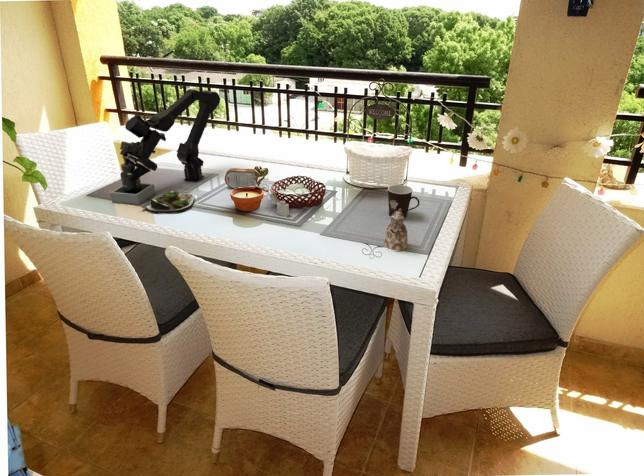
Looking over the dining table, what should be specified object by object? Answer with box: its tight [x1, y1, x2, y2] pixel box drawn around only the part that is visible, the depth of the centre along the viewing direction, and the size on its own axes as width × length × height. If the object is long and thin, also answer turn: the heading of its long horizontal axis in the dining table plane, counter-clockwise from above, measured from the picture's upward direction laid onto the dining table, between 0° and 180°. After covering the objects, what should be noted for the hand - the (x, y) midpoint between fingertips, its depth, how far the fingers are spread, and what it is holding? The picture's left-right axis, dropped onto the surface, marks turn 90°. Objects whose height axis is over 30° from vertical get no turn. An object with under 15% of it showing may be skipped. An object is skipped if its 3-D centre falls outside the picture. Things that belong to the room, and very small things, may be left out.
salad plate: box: [141, 189, 196, 215], centre depth 172 cm, size 19×18×5 cm
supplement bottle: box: [119, 162, 142, 194], centre depth 174 cm, size 7×7×12 cm
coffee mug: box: [387, 184, 421, 219], centre depth 159 cm, size 12×9×10 cm
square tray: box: [109, 182, 156, 206], centre depth 177 cm, size 12×12×4 cm
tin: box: [224, 167, 263, 190], centre depth 184 cm, size 15×3×8 cm, turn 84°
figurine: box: [383, 209, 409, 251], centre depth 140 cm, size 7×7×12 cm
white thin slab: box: [268, 191, 290, 217], centre depth 162 cm, size 7×2×8 cm, turn 63°
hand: (127, 178), depth 173 cm, fingers closed on supplement bottle, 7 cm apart
